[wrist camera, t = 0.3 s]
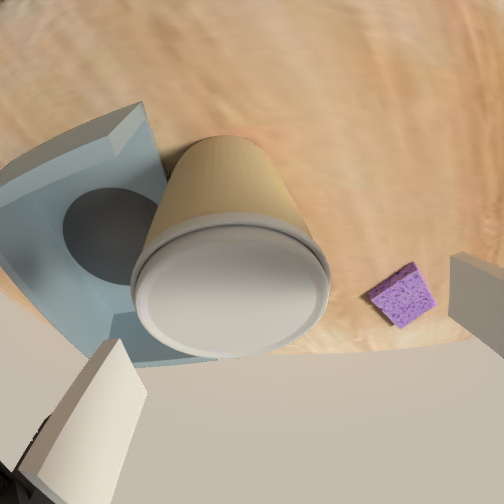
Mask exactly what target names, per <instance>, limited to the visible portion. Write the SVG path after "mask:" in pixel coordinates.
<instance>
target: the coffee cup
mask: <svg viewBox="0 0 504 504" xmlns="http://www.w3.org/2000/svg"><path fill="white" fill-rule="evenodd" d="M330 287H331V274H330V269H329V265H328V262H327V260H326V257H325V256H324V254H323V252H322V251H321V249H320V247H319V246H318V245H317V243H316V242H315V241H314V240H313V238H312V236H311V234H310V232H309V230H308V228H307V226H306V224H305V222H304V220H303V218H302V216H301V214H300V212H299V210H298V209H297V207H296V205H295V203H294V201H293V199H292V197H291V196H290V194H289V192H288V190H287V189H286V187H285V185H284V183H283V182H282V180H281V178H280V176H279V175H278V173H277V171H276V169H275V168H274V166H273V164H272V163H271V161H270V160H269V158H268V157H267V155H266V154H265V153H264V152H263V151H262V150H261V149H260V148H259V147H258V146H256V145H255V144H253V143H252V142H250V141H248V140H245V139H243V138H239V137H235V136H215V137H211V138H207V139H205V140H202V141H200V142H198V143H196V144H195V145H193V146H192V147H190V148H189V149H188V150H187V151H186V152H185V153H184V154H183V155H182V156H181V158H180V159H179V161H178V163H177V164H176V166H175V168H174V170H173V172H172V175H171V177H170V179H169V182H168V184H167V186H166V189H165V191H164V193H163V196H162V198H161V201H160V203H159V206H158V208H157V211H156V213H155V216H154V219H153V221H152V224H151V227H150V230H149V232H148V235H147V238H146V241H145V244H144V247H143V250H142V253H141V254H140V256H139V258H138V260H137V262H136V264H135V267H134V270H133V273H132V277H131V290H130V292H131V298H132V301H133V304H134V307H135V310H136V313H137V315H138V318H139V320H140V322H141V323H142V325H143V326H144V328H145V329H146V330H147V331H148V332H149V333H150V334H151V335H152V336H153V337H154V338H156V339H157V340H159V341H160V342H161V343H163V344H165V345H167V346H168V347H171V348H173V349H175V350H177V351H180V352H183V353H186V354H189V355H194V356H199V357H204V358H214V359H236V358H237V359H238V358H245V357H252V356H257V355H261V354H265V353H269V352H272V351H274V350H277V349H280V348H282V347H284V346H287V345H288V344H290V343H292V342H294V341H296V340H297V339H299V338H300V337H302V336H303V335H305V334H306V333H307V332H308V331H309V330H310V329H311V328H313V327H314V326H315V324H316V323H317V322H318V321H319V319H320V318H321V316H322V315H323V313H324V311H325V309H326V306H327V302H328V297H329V292H330Z"/></svg>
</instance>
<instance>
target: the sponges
mask: <svg viewBox="0 0 504 504" xmlns="http://www.w3.org/2000/svg"><path fill="white" fill-rule="evenodd" d="M368 295H369V296H370V299H371V301H372V302H373V303H374V304H375V305H376V306H377V307H379V309H381V311H382V312H383V313H384V314H385V315H386V316H387V317H388V318H389V319H390V320H391V321H392V322H393V323H394V324H395V325H396V326H397V327H398V328H399V329H402V328H403V327H405V326H406V325H407V324H409V323H410V322H412V321H413V320H415V319H416V318H417V317H418V316H420V315H421V314H424V312H426V311H428V310H430V309H431V308H433V307H434V306H436V303H435V301H434V299H433V297H432V295H431V294H430V292H429V290H428V288H427V286H426V284H425V282H424V279H423V277H422V275H421V273H420V271H419V270H418V268H417V266H416V264H415V262H414V261H413V262H411V263H410V264H409V265H407V266H406V267H404V268H403V269H402V270H400V271H399V272H397V273H396V274H395V275H393V276H392V277H390V278H389V279H387V280H386V281H384V282H383V283H381V284H380V285H379V286H377V287H375V288H374V289H373V290H371V291H370V292H368Z"/></svg>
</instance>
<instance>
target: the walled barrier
mask: <svg viewBox="0 0 504 504" xmlns="http://www.w3.org/2000/svg"><path fill="white" fill-rule="evenodd" d="M168 182H169V181H168V178H167V175H166V173H165V170H164V167H163V164H162V161H161V158H160V155H159V152H158V149H157V146H156V143H155V140H154V137H153V134H152V131H151V128H150V125H149V122H148V119H147V116H146V112H145V109H144V106H143V103H142V102H139V103H136V104H133V105H130V106H127V107H124V108H122V109H119V110H116V111H114V112H111V113H109V114H106V115H103V116H101V117H99V118H96V119H94V120H91V121H89V122H87V123H84V124H82V125H80V126H78V127H75V128H73V129H71V130H69V131H67V132H65V133H63V134H61V135H59V136H57V137H55V138H53V139H51V140H49V141H47V142H45V143H43V144H41V145H39V146H37V147H36V148H34V149H32V150H30V151H28V152H27V153H25V154H23V155H21V156H20V157H18V158H16V159H15V160H13V161H11V162H10V163H9V164H8V165H7V166H5V167H4V168H3V169H2V170H1V171H0V266H1V267H2V268H3V270H4V271H5V272H6V273H7V275H8V276H9V277H10V278H11V280H12V281H13V282H14V283H15V285H16V286H17V287H18V288H19V289H20V291H21V292H22V293H23V294H24V295H25V296H26V297H27V299H28V300H29V301H30V302H31V303H32V304H33V305H34V306H35V307H36V309H37V310H38V311H39V312H40V313H41V314H42V315H43V316H44V317H45V318H46V319H47V320H48V321H49V322H50V323H51V324H52V325H53V326H54V327H55V328H56V329H57V330H58V331H59V332H60V333H61V334H62V335H63V336H64V337H65V338H66V339H67V340H68V341H69V342H70V343H71V344H73V345H74V346H75V347H76V348H77V349H78V350H79V351H80V352H82V354H84V355H85V356H86V357H87V358H88V359H89V360H90V358H91V357H92V356H93V354H94V353H95V351H96V350H97V349H98V347H99V346H100V345H101V343H102V342H103V341H104V340H108V339H115V338H120V339H121V341H122V343H123V345H124V348H125V350H126V352H127V354H128V356H129V358H130V360H131V362H132V364H133V366H134V368H145V367H159V366H169V365H181V364H190V363H199V362H207V361H215V360H218V359H214V358H204V357H199V356H194V355H189V354H186V353H183V352H180V351H177V350H175V349H173V348H171V347H168V346H167V345H165V344H163V343H161V342H160V341H159V340H157V339H156V338H154V337H153V336H152V335H151V334H150V333H149V332H148V331H147V330H146V329H145V328H144V326H143V325H142V323H141V322H140V320H139V318H138V315H137V313H136V310H135V307H134V304H133V301H132V298H131V292H130V290H131V277H132V273H133V270H134V267H135V264H136V262H137V260H138V258H139V256H140V254H141V253H142V250H143V247H144V244H145V241H146V238H147V235H148V232H149V230H150V227H151V224H152V221H153V219H154V216H155V213H156V211H157V208H158V206H159V203H160V201H161V198H162V196H163V193H164V191H165V189H166V186H167V184H168Z"/></svg>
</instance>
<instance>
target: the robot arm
mask: <svg viewBox="0 0 504 504" xmlns="http://www.w3.org/2000/svg"><path fill="white" fill-rule="evenodd" d="M448 316H449V317H451V318H452V319H453V320H455V321H456V322H457V323H459V324H460V325H461V326H463V327H464V328H465V329H467V330H468V331H469V332H471V333H472V334H473V335H475V336H476V337H477V338H479V339H480V340H481V341H483V342H484V343H485V344H486V345H488V346H489V347H490V348H491V349H493V350H494V351H495V352H496V353H498V354H499V355H500V356H501V357H503V358H504V268H501V267H499V266H497V265H494V264H492V263H490V262H487V261H485V260H482V259H480V258H478V257H475V256H473V255H470V254H468V253H465V252H460V253H457V254H454V255H451V256H450V294H449V311H448ZM147 394H148V393H147V392H146V389H145V388H144V386H143V384H142V382H141V380H140V378H139V376H138V375H137V372H136V370H135V368H134V366H133V364H132V362H131V360H130V358H129V356H128V354H127V352H126V350H125V348H124V345H123V343H122V341H121V339H120V338H115V339H108V340H104V341H103V342H102V343H101V345H100V346H99V347H98V349H97V350H96V351H95V353H94V354H93V356H92V357H91V358H90V360H89V361H88V362H87V364H86V365H85V367H84V368H83V369H82V371H81V372H80V374H79V375H78V377H77V378H76V379H75V381H74V382H73V384H72V385H71V386H70V388H69V389H68V391H67V392H66V394H65V395H64V397H63V398H62V400H61V401H60V403H59V404H58V406H57V407H56V409H55V410H54V412H53V413H52V414H51V415H49V416H48V417H47V418H46V419H45V420H44V422H43V423H42V425H41V426H40V428H39V429H38V433H36V434H35V436H34V437H33V441H31V442H30V444H29V445H28V447H27V448H26V450H25V452H24V453H23V455H22V457H21V458H20V460H19V462H18V463H17V465H16V467H15V469H14V470H13V472H12V473H11V472H10V471H9V470H8V469H7V468H6V467H5V465H4V464H3V463H2V462H1V461H0V504H110V503H111V500H112V497H113V494H114V490H115V487H116V484H117V481H118V477H119V474H120V471H121V468H122V465H123V462H124V459H125V456H126V453H127V450H128V447H129V444H130V441H131V438H132V435H133V432H134V430H135V427H136V424H137V421H138V418H139V415H140V413H141V410H142V407H143V404H144V402H145V399H146V396H147Z"/></svg>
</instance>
